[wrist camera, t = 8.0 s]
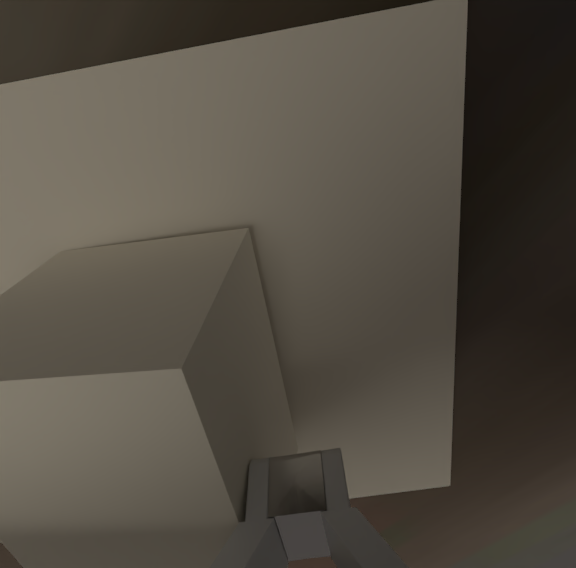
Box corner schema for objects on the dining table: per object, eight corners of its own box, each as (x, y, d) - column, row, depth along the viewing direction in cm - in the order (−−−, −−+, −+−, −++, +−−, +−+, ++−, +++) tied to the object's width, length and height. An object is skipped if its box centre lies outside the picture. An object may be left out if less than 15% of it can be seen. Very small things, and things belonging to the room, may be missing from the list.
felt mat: (461, -4, 11) (468, -7, 11) (447, 478, 20) (450, 485, 20) (-464, 175, 12) (-486, 178, 12) (-80, 545, 22) (-86, 553, 22)
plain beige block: (248, 227, 13) (181, 368, 7) (298, 447, 17) (281, 638, 12) (60, 251, 14) (-131, 390, 8) (155, 452, 18) (77, 629, 13)
